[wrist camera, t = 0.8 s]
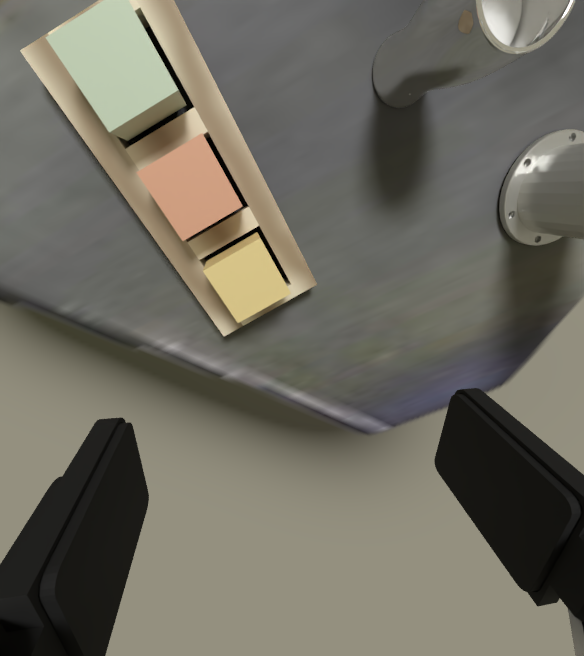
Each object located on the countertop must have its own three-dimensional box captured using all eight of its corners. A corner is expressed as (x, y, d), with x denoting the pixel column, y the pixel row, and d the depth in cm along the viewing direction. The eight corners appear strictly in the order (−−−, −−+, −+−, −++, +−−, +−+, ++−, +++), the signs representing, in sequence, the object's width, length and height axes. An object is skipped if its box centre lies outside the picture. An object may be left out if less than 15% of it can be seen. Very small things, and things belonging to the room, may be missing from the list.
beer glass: (354, 57, 30) (454, -52, 16) (416, 6, 29) (576, -154, 16) (387, 129, 33) (495, 86, 19) (444, 84, 32) (599, 6, 18)
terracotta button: (206, 141, 28) (202, 133, 24) (241, 204, 31) (242, 206, 27) (150, 174, 29) (136, 172, 25) (189, 234, 31) (182, 241, 27)
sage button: (140, 21, 25) (122, -12, 21) (186, 105, 27) (178, 90, 23) (76, 62, 25) (45, 37, 21) (127, 140, 27) (109, 132, 23)
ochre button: (257, 231, 32) (260, 237, 28) (284, 281, 35) (291, 293, 31) (206, 260, 33) (202, 271, 28) (237, 307, 35) (238, 323, 31)
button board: (163, -13, 26) (155, -36, 23) (311, 277, 38) (317, 284, 35) (41, 65, 26) (19, 50, 24) (224, 326, 38) (224, 336, 36)
